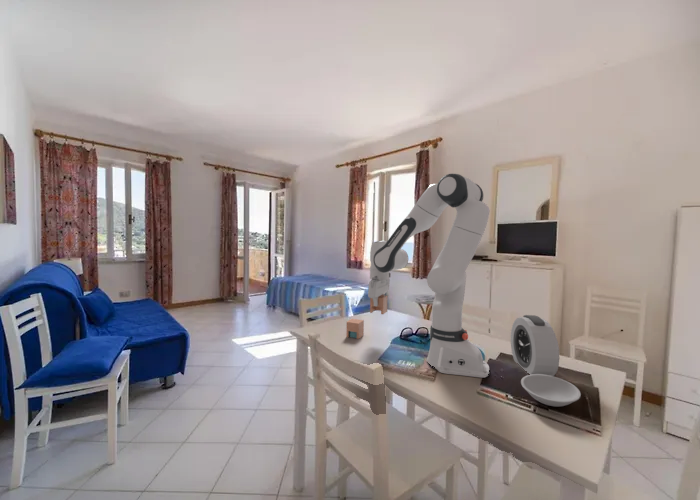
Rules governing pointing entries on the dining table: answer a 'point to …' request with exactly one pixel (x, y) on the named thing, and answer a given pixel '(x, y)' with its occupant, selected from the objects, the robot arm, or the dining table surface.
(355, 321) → the tan box with door
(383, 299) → the brown box with opening
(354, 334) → the letter cube
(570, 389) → the dish
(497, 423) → the dining table surface
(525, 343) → the alarm clock
